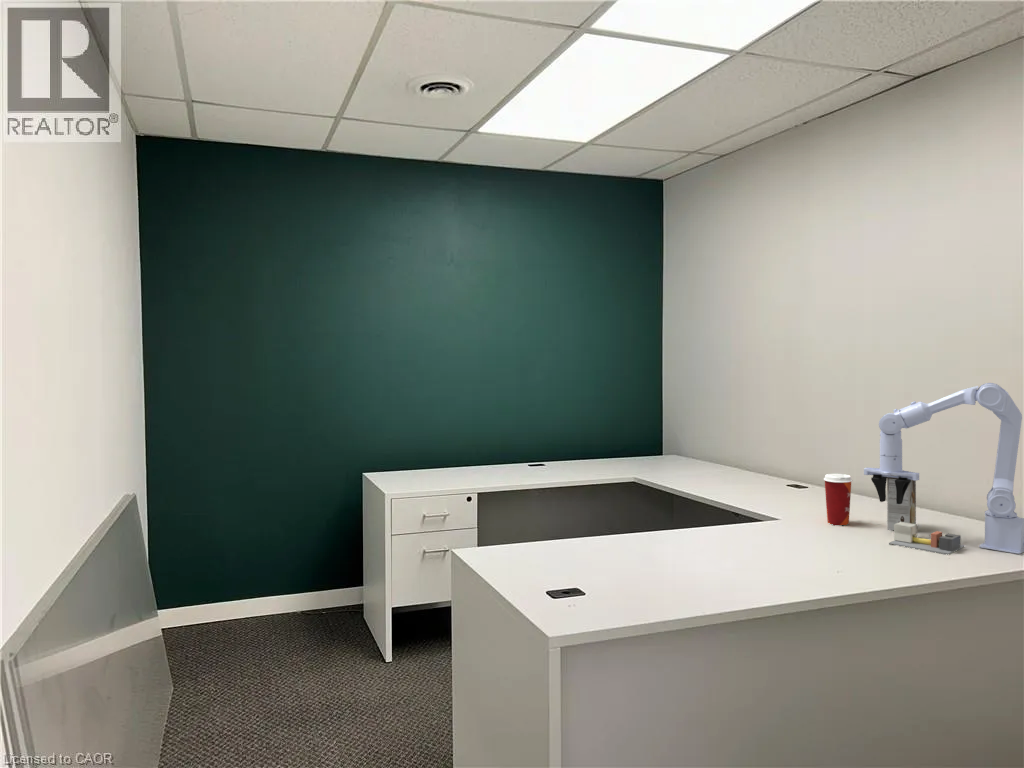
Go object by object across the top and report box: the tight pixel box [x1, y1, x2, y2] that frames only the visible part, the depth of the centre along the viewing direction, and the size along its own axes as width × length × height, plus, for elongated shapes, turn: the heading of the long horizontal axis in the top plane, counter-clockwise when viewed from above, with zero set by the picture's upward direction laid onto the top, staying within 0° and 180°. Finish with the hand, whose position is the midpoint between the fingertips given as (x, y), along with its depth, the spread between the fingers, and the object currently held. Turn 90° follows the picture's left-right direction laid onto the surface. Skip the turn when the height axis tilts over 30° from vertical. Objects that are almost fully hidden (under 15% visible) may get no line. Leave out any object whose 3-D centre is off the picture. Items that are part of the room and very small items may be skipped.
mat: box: [888, 539, 965, 556], centre depth 203 cm, size 15×11×1 cm
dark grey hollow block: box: [939, 532, 961, 552], centre depth 199 cm, size 4×6×3 cm, turn 130°
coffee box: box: [886, 475, 917, 531], centre depth 222 cm, size 9×6×16 cm
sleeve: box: [893, 522, 918, 543], centre depth 207 cm, size 4×4×4 cm
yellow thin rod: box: [912, 536, 939, 545], centre depth 204 cm, size 13×1×1 cm, turn 40°
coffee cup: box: [823, 473, 853, 526], centre depth 229 cm, size 8×8×15 cm
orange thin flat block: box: [930, 530, 943, 548], centre depth 201 cm, size 1×4×4 cm, turn 130°
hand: (891, 502), depth 212 cm, fingers open, 4 cm apart
